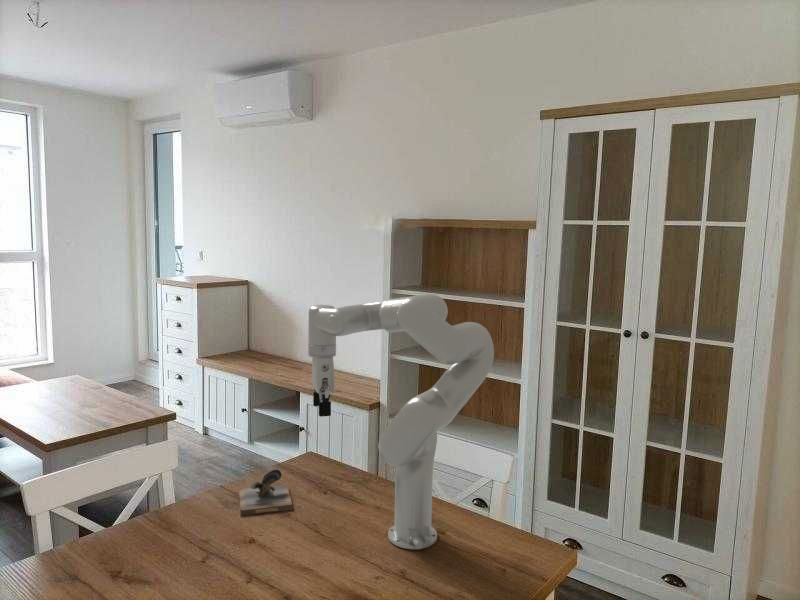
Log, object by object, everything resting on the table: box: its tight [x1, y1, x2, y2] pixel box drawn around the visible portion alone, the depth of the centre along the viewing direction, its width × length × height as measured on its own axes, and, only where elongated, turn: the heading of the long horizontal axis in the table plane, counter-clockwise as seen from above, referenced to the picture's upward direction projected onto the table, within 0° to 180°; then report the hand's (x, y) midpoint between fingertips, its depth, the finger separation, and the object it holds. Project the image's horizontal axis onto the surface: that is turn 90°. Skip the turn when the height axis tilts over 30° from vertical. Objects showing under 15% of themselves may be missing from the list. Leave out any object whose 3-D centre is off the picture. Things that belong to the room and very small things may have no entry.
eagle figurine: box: [250, 469, 283, 500], centre depth 170 cm, size 8×7×9 cm
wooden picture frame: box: [238, 483, 293, 516], centre depth 169 cm, size 14×14×2 cm
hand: (321, 410), depth 163 cm, fingers open, 9 cm apart
